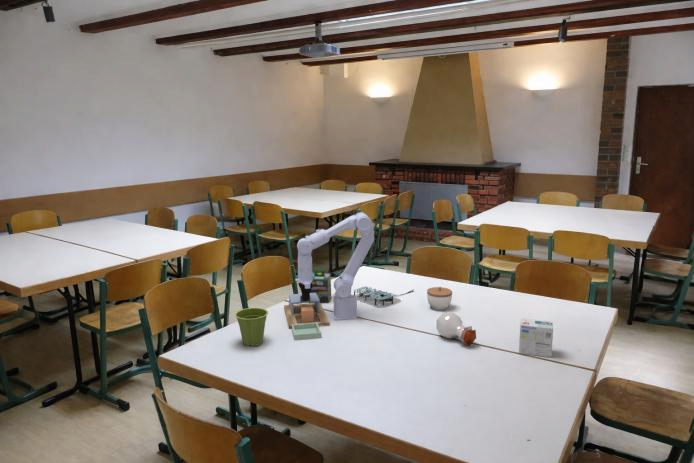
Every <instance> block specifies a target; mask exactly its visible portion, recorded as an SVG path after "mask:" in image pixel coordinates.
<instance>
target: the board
mask: <svg viewBox="0 0 694 463" xmlns="http://www.w3.org/2000/svg"><path fill="white" fill-rule="evenodd" d="M309 306H312V307H313V310H314V322H313V323H318V326H319V327H327V326H328V327H329V326H330V320H329V318H328V316H327V314H326V311H325V308H324V307H323V304H322V303H320V313H318V312H317V310H316V307H315V305H314V303H299V304H293V307H294V315H292V314H291V310H290V306H289V304H284V305H283V310H284V315H285V319H286V322H287V327H288V330H292V325H295V324H308V323H302V321H301V307H309Z"/></svg>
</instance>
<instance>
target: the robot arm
mask: <svg viewBox="0 0 694 463" xmlns="http://www.w3.org/2000/svg"><path fill="white" fill-rule="evenodd" d="M374 226H375V225H374V223H373V221H372V219H371V218H370V217H369V216H368V215H367V214H366V212H362V211H361V212H357V213H355V214H353V215H350V216H348V217H347V218H344V219H343V220H342V221H339V222H338V223H336V224H334V225H333V226H331V227H329V228H328V229H323V228H321V229H319V228H318V229H316V230H315V232H314V233H312V234H310V235H305V237H302V238H300V239H299V240H298V242H297V244H296V248H297V252H298V253H297V278H295V280H294V281H295V282H298V283H297V285H298V287H299V289H300V292H301V293H300V294H302V298H303V301H308V300H309V296H310V291H311V289H312V287H313V284H312V281H313V278H312V273H313V257H312V252H313V250H315V249H317V248H320V247H321V246H323V245H325V244H327V243H329V241H330V239H331V238H332V237H334V236H337V235H338V234H340V233H342V232H344V231H347V230H350V231H351V230H352V231H356V229H357V230H358V232H359V234H360V240H359V241H358V244H357V246H356V247H355V249H354V251H353V253H352V255H351V257H350V259H349V260H348V263H347V264H346V266H345V269H344V270H343V271H342V272H341V273H340V275H339V276H338V277H337V278H336V279H335V280H334V282H333V288H334V291H335V292H334V294H333V312H331V315H332V317H333V319H334V321H340V320H341V321H342V320H354V319H358V301H357V299H356V296H355V295H356V294H355V295H354V294H352V287H353V285H354V280H355V277H356V276H357V273H358V271H359V269H360V267H361V266H362V264H363V263H364V260H365V258H366V257H367V255H368V252H369V250H370V249H371V247H372V245H373V243H374V242H375V232H374V231H375V230H374V229H375V228H374Z"/></svg>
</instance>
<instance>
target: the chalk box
mask: <svg viewBox="0 0 694 463" xmlns="http://www.w3.org/2000/svg"><path fill="white" fill-rule="evenodd" d="M319 272H320V273H319ZM331 276H332V275H331V273H329V272H328V273H327V272H325V269H318V268H317V269H314V270H313V272H312V278H313V281H312V284H313V287H312V289H311V291H310V293H316V294H317V296H318V298H319V301H320V303H321V304H329V303H330V301H331V298H332V280H331V279H332V277H331ZM312 303H314V302H312Z"/></svg>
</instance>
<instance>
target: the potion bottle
mask: <svg viewBox="0 0 694 463" xmlns="http://www.w3.org/2000/svg"><path fill="white" fill-rule="evenodd" d="M435 329H436V330H437V332H438V333H439V335H440V336H442V337H444V338H445V339H454V338H456V337H458V340H459V341H460V342H461V343H462V344H464V345H467V346H471V345H472V344H473V342H475V341H476V339H477V334H476V333H477V330H476V329H473V327H472V325H469V326H465V325H464V324H463V321H462V318H461V317H460V315H458V314H456V313H455V312H451V311H450V312H449V311H447V312H446V311H445V312H444V313H441V315H440V316H439V317H438V318H437V319H436V328H435Z"/></svg>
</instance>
